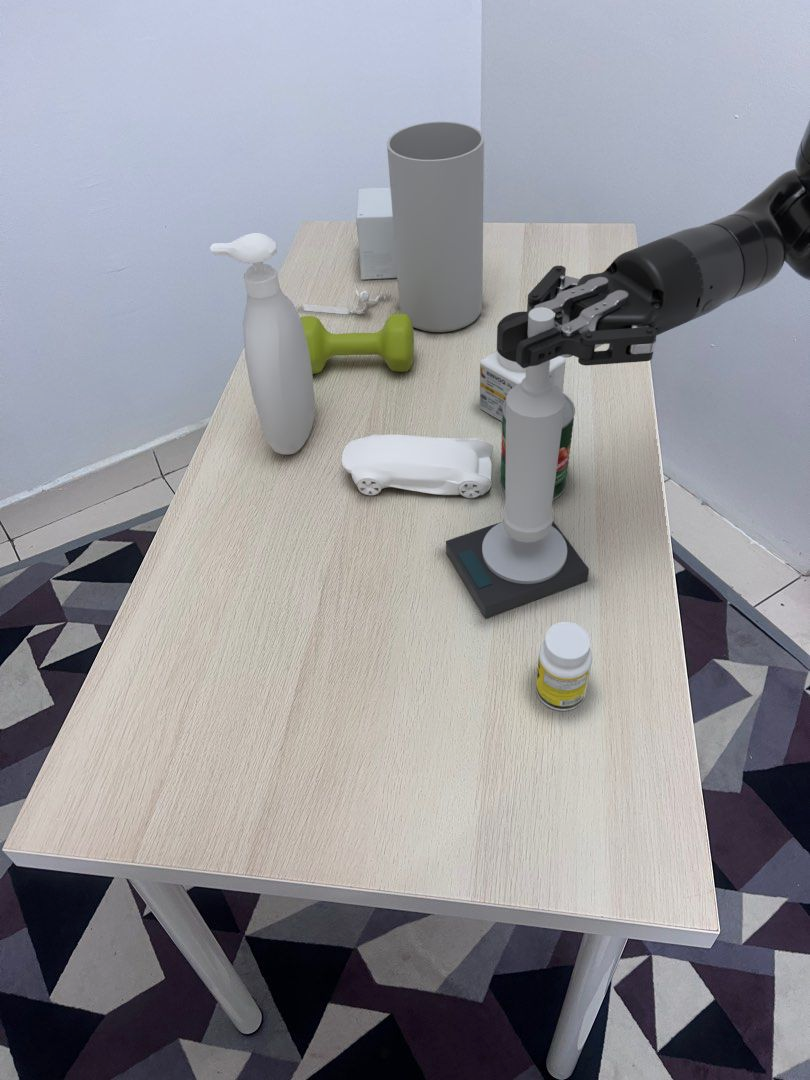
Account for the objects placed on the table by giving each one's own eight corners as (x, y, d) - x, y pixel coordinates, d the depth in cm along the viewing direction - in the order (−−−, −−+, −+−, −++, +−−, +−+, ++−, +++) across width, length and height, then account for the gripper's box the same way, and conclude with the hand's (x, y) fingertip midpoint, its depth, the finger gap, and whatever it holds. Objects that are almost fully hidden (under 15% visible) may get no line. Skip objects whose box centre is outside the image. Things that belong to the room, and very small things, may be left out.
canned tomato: (568, 505, 92) (578, 431, 84) (500, 504, 93) (502, 432, 85) (564, 458, 97) (572, 385, 89) (499, 459, 98) (501, 386, 90)
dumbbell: (416, 348, 115) (413, 304, 110) (413, 381, 110) (410, 337, 104) (304, 350, 116) (296, 306, 111) (296, 383, 111) (287, 339, 106)
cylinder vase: (421, 283, 127) (412, 117, 108) (494, 298, 123) (498, 127, 104) (386, 325, 120) (370, 153, 101) (462, 341, 115) (460, 166, 97)
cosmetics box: (401, 278, 128) (396, 215, 121) (361, 280, 129) (354, 218, 121) (400, 246, 135) (396, 184, 128) (362, 249, 136) (356, 187, 128)
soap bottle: (272, 396, 109) (228, 204, 90) (330, 398, 108) (297, 204, 88) (244, 468, 100) (186, 270, 80) (306, 471, 99) (264, 271, 79)
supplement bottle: (547, 661, 78) (554, 609, 72) (593, 681, 76) (604, 630, 70) (526, 699, 75) (531, 648, 69) (573, 720, 74) (582, 670, 67)
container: (478, 409, 105) (478, 323, 95) (518, 382, 108) (522, 297, 98) (522, 435, 101) (527, 348, 91) (562, 407, 104) (571, 320, 94)
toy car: (492, 454, 99) (493, 426, 95) (491, 499, 93) (491, 471, 90) (350, 452, 101) (345, 424, 97) (340, 495, 95) (335, 467, 92)
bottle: (493, 533, 82) (497, 322, 63) (515, 501, 85) (526, 291, 66) (538, 551, 80) (557, 339, 61) (560, 518, 83) (584, 305, 64)
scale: (542, 519, 91) (543, 503, 89) (587, 581, 84) (590, 565, 82) (445, 552, 88) (445, 537, 86) (485, 619, 82) (485, 603, 80)
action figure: (313, 300, 127) (297, 316, 122) (313, 266, 124) (297, 282, 118) (385, 311, 126) (372, 328, 120) (387, 278, 122) (374, 294, 117)
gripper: (627, 209, 71) (462, 270, 66) (744, 275, 62) (565, 350, 57) (616, 285, 76) (463, 346, 71) (722, 355, 68) (558, 430, 63)
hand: (510, 348), depth 64 cm, fingers closed on bottle, 2 cm apart
